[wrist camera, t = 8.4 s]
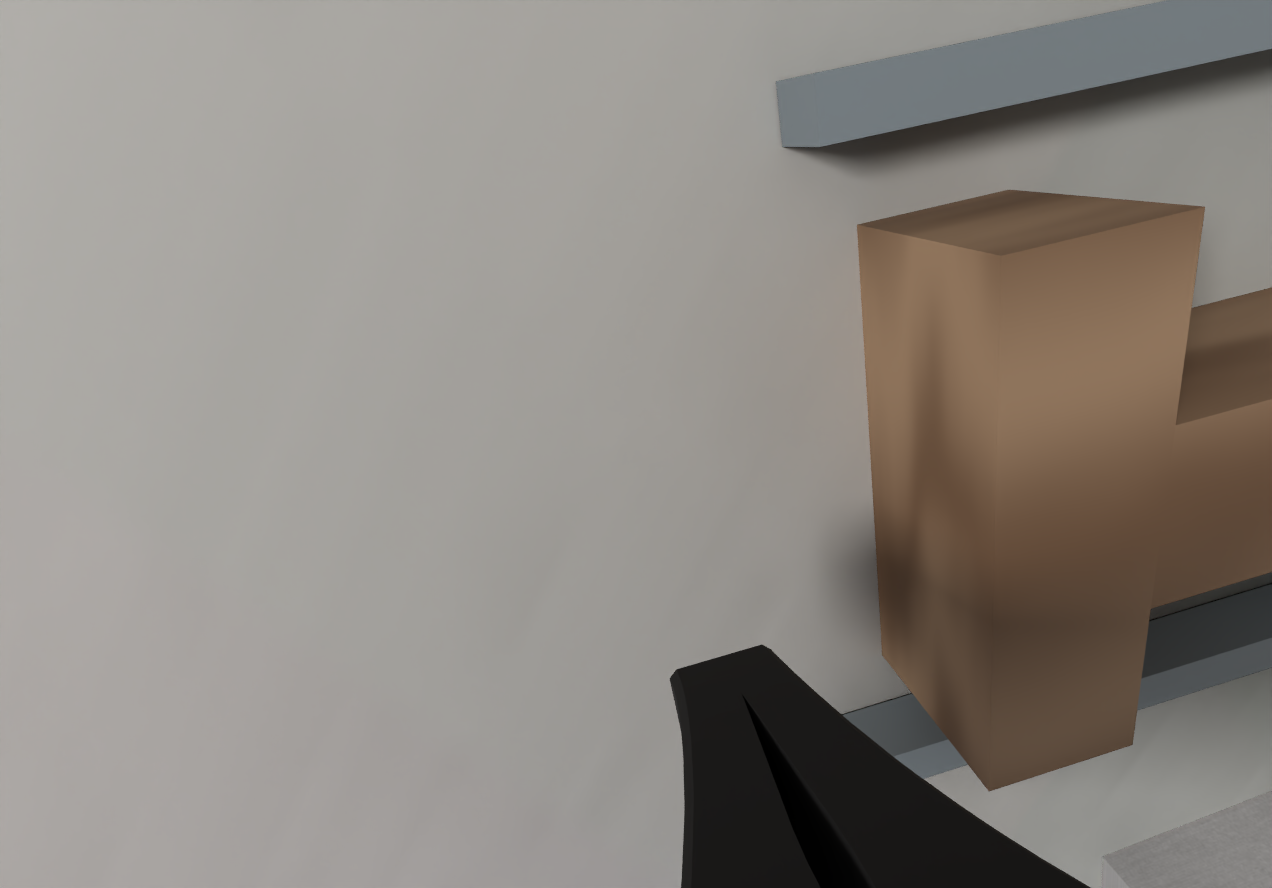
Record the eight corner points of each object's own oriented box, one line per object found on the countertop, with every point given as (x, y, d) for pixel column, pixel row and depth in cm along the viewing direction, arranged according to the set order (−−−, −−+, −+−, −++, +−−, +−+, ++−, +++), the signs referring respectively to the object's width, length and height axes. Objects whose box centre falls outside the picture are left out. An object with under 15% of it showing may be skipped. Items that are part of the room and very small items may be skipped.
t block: (1250, 543, 18) (1443, 643, 15) (881, 654, 17) (988, 791, 13) (1336, 113, 14) (1633, 103, 10) (857, 225, 13) (1001, 256, 9)
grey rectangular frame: (1327, 594, 19) (1392, 629, 18) (839, 746, 18) (869, 796, 17) (1497, -67, 13) (1615, -92, 12) (776, 80, 12) (814, 72, 10)
